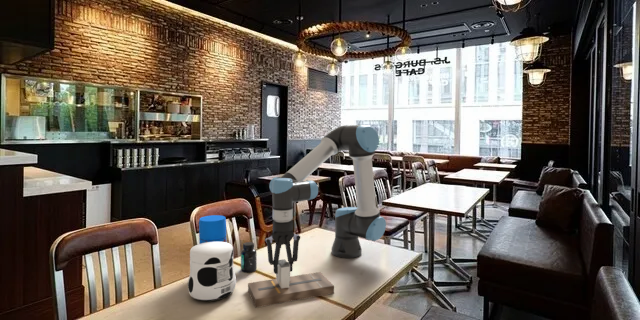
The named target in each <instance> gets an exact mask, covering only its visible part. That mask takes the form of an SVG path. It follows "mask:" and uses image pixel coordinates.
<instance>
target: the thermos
mask: <svg viewBox="0 0 640 320" xmlns="http://www.w3.org/2000/svg"><path fill="white" fill-rule="evenodd" d="M198 233H199V234H198V235H199V237H198V239H199V240H198V241H199V243H198V244H201V243H206V242H227V219H226V216H224V215H219V214H218V215H217V214H216V215H215V214H213V215H212V214H211V215H206V216H202V217H200V218H199V220H198Z"/></svg>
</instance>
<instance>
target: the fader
mask: <svg viewBox="0 0 640 320" xmlns="http://www.w3.org/2000/svg"><path fill="white" fill-rule="evenodd" d="M278 264H279V265H280V283H278V284H279V286H280V287H281V289H282V288H288V287H289V267H290V265H289V264H288V260H286V259H279V261H278Z"/></svg>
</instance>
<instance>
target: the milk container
mask: <svg viewBox="0 0 640 320" xmlns="http://www.w3.org/2000/svg"><path fill="white" fill-rule="evenodd" d="M236 277H237V276H236V272H235V268H234V247H233V245H232V244H231V243H229V242H227V241H226V242H206V243H201V244H199V243H198V244H196V245H194V246H192V247H190V251H189V276H188V281H187V290H188V293H189V296H190V297H191V298H192V299H194V300H197V301H200V302H212V301H213V302H214V301H218V300H222V299H224V298H227V297H228V296H230V295H231V294H232V293H233V292H234V290H235V288H236V285H237V278H236Z"/></svg>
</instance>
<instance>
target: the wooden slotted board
mask: <svg viewBox="0 0 640 320" xmlns="http://www.w3.org/2000/svg"><path fill="white" fill-rule="evenodd" d="M247 291H248V293H249V295H250V298H251V300H252V303H253V305H254V307H255V308H260V307H266V306H272V305H277V304H282V303H288V302H292V301H293V302H294V301H299V300H305V299H309V298H310V299H311V298H315V297H321V296H326V295H333V294H335V284H333V283H332V282H331V281H330V280H329V279H328V278H327V277H326V276H325V275H324V274H323V273H322V272H321V271H318V272H312V273H311V272H310V273H304V274H299V275H298V274H297V275H292V276H291V275H290V281H289V287H288V288H282V289H281V287H280V286H279V284H278V282H277V280H276V278H273V279H266V280H259V281H253V282H249V283H247Z"/></svg>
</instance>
